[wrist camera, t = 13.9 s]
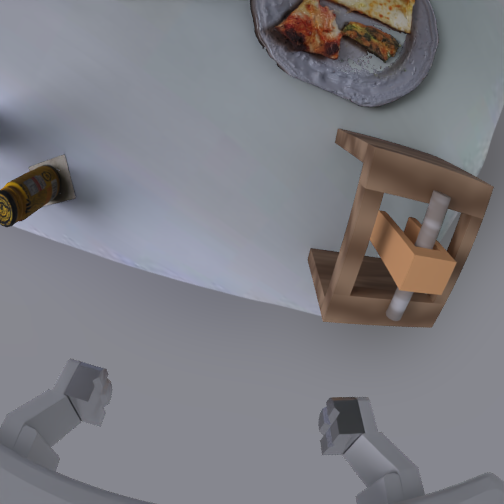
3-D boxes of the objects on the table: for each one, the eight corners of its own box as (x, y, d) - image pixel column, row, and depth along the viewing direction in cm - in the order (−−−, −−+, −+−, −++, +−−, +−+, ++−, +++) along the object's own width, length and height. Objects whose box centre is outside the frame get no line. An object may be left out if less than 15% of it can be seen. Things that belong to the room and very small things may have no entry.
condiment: (29, 167, 39) (-19, 192, 29) (65, 154, 39) (16, 177, 28) (40, 206, 43) (-2, 239, 32) (76, 197, 42) (33, 230, 32)
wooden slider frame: (337, 128, 37) (383, 151, 23) (436, 156, 38) (504, 193, 24) (307, 259, 47) (325, 333, 33) (397, 271, 47) (437, 337, 33)
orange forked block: (378, 210, 35) (414, 254, 25) (415, 218, 35) (456, 262, 26) (369, 239, 37) (399, 290, 27) (405, 245, 37) (441, 295, 28)
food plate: (226, 57, 33) (223, 53, 30) (284, -73, 22) (287, -84, 19) (399, 128, 37) (410, 132, 34) (442, 3, 26) (455, 0, 23)
